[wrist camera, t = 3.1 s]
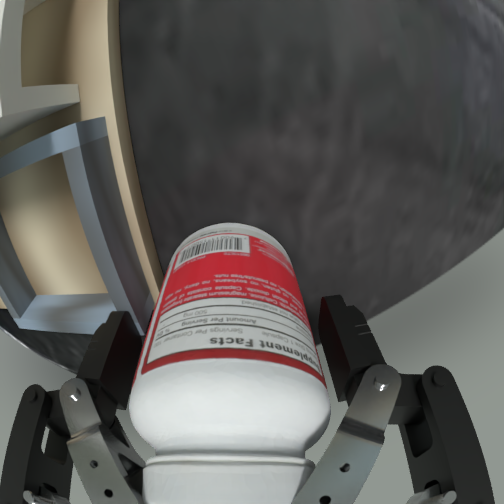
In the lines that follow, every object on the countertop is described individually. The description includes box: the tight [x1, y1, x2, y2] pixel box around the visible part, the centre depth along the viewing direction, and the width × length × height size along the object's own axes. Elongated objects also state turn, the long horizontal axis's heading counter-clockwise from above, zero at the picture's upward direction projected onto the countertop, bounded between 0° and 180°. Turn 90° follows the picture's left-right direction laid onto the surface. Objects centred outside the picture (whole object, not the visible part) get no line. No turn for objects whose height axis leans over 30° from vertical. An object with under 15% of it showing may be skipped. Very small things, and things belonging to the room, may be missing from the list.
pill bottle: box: [129, 223, 331, 504], centre depth 9 cm, size 6×6×11 cm
